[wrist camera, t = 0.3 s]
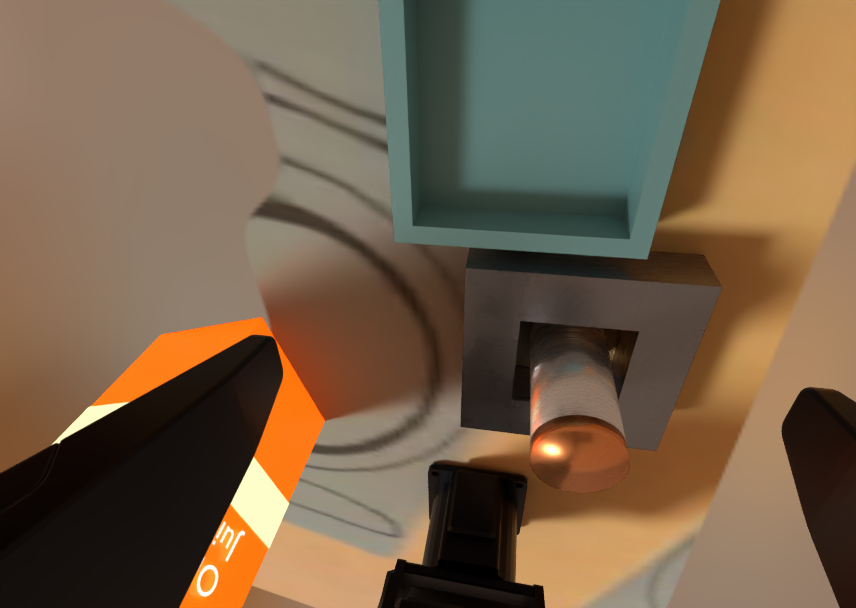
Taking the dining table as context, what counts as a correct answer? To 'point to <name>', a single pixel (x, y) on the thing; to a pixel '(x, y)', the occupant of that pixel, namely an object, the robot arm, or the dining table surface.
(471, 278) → the grey flat square frame
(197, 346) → the orange juice
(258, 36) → the dining table surface
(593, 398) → the pin
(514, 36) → the tray
